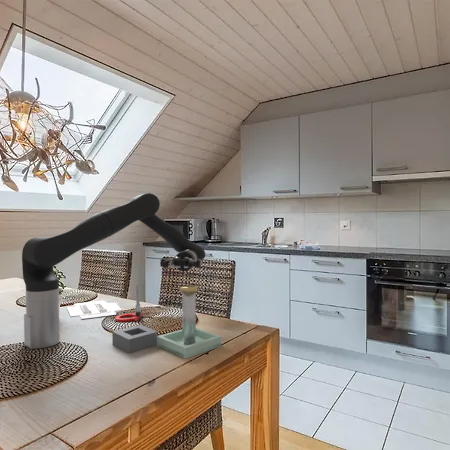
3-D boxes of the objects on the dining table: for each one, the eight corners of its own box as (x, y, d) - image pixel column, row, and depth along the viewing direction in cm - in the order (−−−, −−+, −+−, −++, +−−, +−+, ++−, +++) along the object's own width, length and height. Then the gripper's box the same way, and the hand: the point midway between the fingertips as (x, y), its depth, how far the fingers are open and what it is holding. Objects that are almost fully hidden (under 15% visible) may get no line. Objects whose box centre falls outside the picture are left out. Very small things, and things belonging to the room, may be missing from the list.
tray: (185, 358, 100) (185, 348, 100) (157, 346, 110) (156, 336, 110) (221, 346, 110) (221, 336, 110) (192, 335, 120) (192, 326, 120)
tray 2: (72, 322, 137) (71, 312, 137) (65, 309, 162) (65, 300, 162) (126, 315, 147) (126, 306, 147) (112, 303, 171) (112, 296, 171)
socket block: (129, 353, 105) (128, 339, 105) (112, 344, 112) (112, 331, 112) (157, 344, 112) (157, 331, 112) (140, 336, 119) (140, 324, 119)
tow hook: (111, 323, 136) (137, 322, 135) (109, 286, 136) (135, 285, 135) (119, 316, 145) (144, 315, 144) (117, 282, 145) (142, 281, 144)
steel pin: (187, 347, 107) (187, 289, 106) (177, 342, 110) (176, 286, 110) (201, 342, 110) (200, 286, 110) (190, 338, 114) (190, 284, 114)
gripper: (168, 250, 140) (156, 253, 124) (204, 251, 139) (197, 254, 123) (167, 269, 140) (156, 275, 124) (204, 270, 139) (197, 276, 123)
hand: (176, 264), depth 124 cm, fingers open, 8 cm apart
